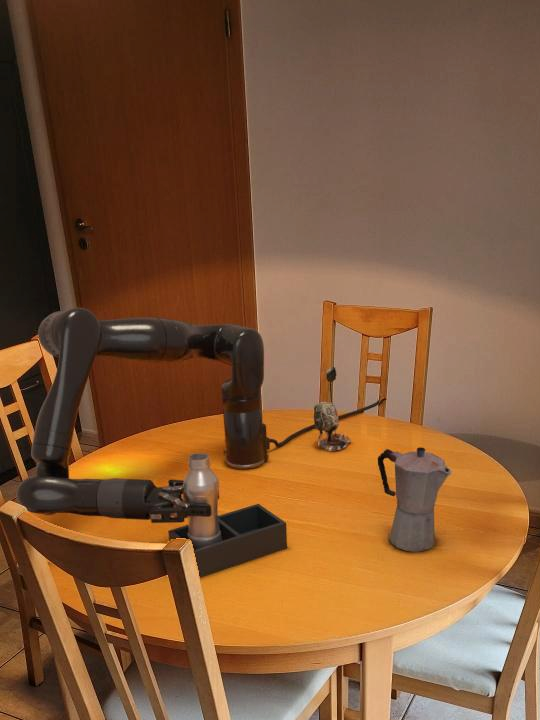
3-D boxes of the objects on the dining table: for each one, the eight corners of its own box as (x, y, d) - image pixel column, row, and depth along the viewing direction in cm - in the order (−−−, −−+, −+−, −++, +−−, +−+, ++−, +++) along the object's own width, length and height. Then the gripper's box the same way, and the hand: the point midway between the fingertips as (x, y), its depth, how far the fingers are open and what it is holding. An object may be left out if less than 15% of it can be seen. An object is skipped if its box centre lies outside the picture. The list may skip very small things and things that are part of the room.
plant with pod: (304, 447, 201) (302, 370, 192) (337, 436, 207) (337, 361, 198) (324, 456, 195) (324, 377, 186) (358, 445, 201) (359, 368, 192)
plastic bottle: (188, 546, 153) (180, 450, 144) (223, 544, 153) (217, 449, 144) (187, 563, 147) (178, 464, 138) (223, 561, 148) (217, 462, 139)
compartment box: (170, 556, 152) (168, 530, 150) (259, 528, 162) (258, 503, 159) (195, 579, 144) (192, 552, 142) (287, 548, 154) (286, 522, 151)
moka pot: (437, 561, 148) (443, 463, 139) (363, 542, 155) (364, 447, 146) (456, 540, 155) (463, 445, 146) (384, 523, 162) (387, 431, 153)
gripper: (111, 497, 139) (205, 501, 137) (136, 465, 152) (221, 468, 150) (116, 534, 142) (207, 539, 140) (140, 500, 155) (223, 503, 153)
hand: (214, 502), depth 145 cm, fingers closed on plastic bottle, 6 cm apart
